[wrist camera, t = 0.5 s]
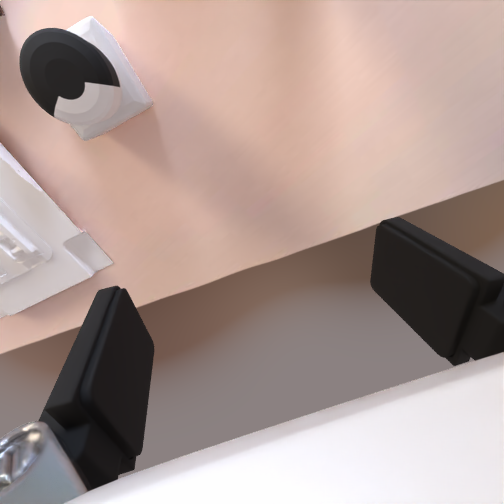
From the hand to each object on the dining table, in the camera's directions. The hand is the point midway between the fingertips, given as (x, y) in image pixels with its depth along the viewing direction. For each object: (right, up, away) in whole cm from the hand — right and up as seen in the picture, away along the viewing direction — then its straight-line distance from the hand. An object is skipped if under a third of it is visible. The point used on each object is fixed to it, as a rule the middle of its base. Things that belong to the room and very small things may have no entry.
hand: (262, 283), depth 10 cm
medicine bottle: (-16, +19, +19) cm, 32 cm away
